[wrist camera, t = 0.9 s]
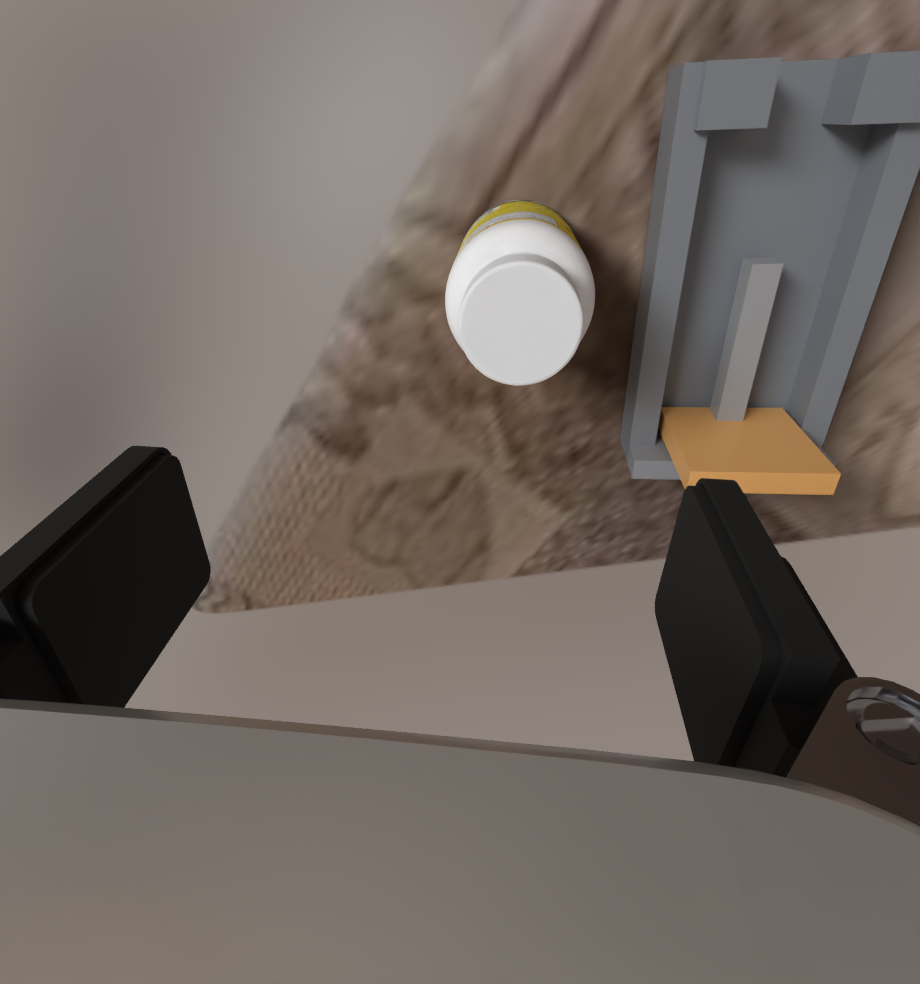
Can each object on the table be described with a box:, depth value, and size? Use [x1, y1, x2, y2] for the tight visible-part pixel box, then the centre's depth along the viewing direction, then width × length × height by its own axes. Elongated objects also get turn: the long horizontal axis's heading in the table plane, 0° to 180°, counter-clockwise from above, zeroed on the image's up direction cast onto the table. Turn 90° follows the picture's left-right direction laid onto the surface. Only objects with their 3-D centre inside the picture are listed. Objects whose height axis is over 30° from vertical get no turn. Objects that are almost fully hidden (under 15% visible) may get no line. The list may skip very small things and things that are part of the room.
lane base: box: [620, 51, 920, 480], centre depth 24 cm, size 9×16×4 cm, turn 2°
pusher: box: [658, 258, 841, 495], centre depth 24 cm, size 6×8×6 cm
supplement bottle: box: [445, 200, 595, 386], centre depth 22 cm, size 5×5×10 cm
